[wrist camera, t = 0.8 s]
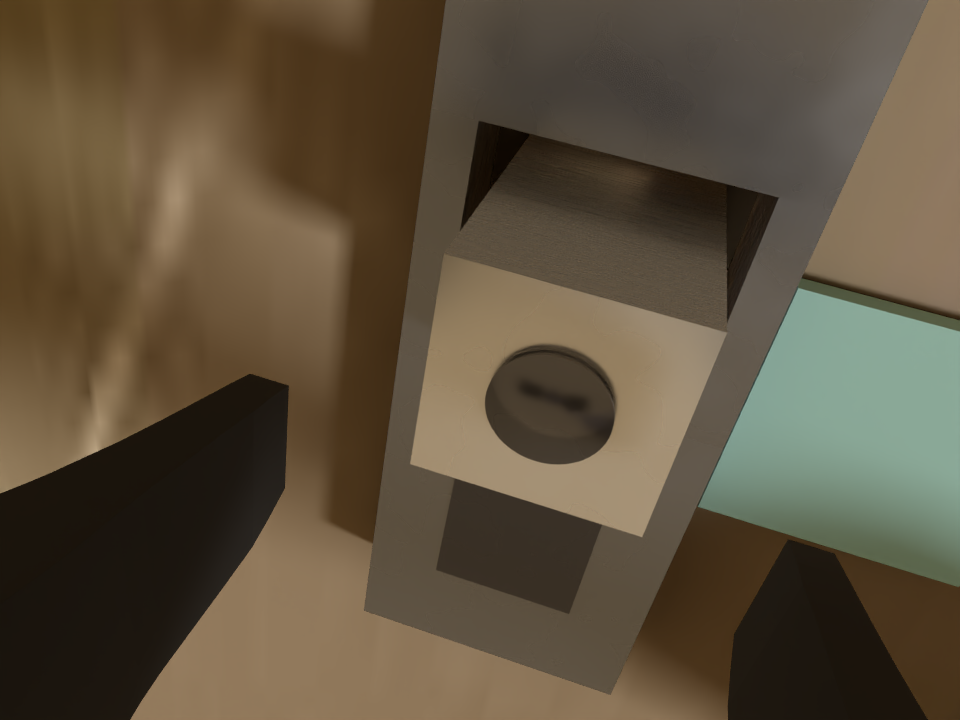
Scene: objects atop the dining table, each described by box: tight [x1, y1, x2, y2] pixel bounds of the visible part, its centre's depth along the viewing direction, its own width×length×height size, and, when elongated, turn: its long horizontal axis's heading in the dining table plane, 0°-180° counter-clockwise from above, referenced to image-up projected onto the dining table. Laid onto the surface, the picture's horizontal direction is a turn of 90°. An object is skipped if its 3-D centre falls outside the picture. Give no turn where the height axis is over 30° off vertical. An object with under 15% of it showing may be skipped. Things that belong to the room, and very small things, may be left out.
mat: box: [698, 278, 960, 587], centre depth 19 cm, size 7×7×1 cm
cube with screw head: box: [410, 134, 727, 537], centre depth 16 cm, size 4×4×7 cm
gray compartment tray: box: [364, 0, 928, 695], centre depth 20 cm, size 8×20×3 cm, turn 170°
